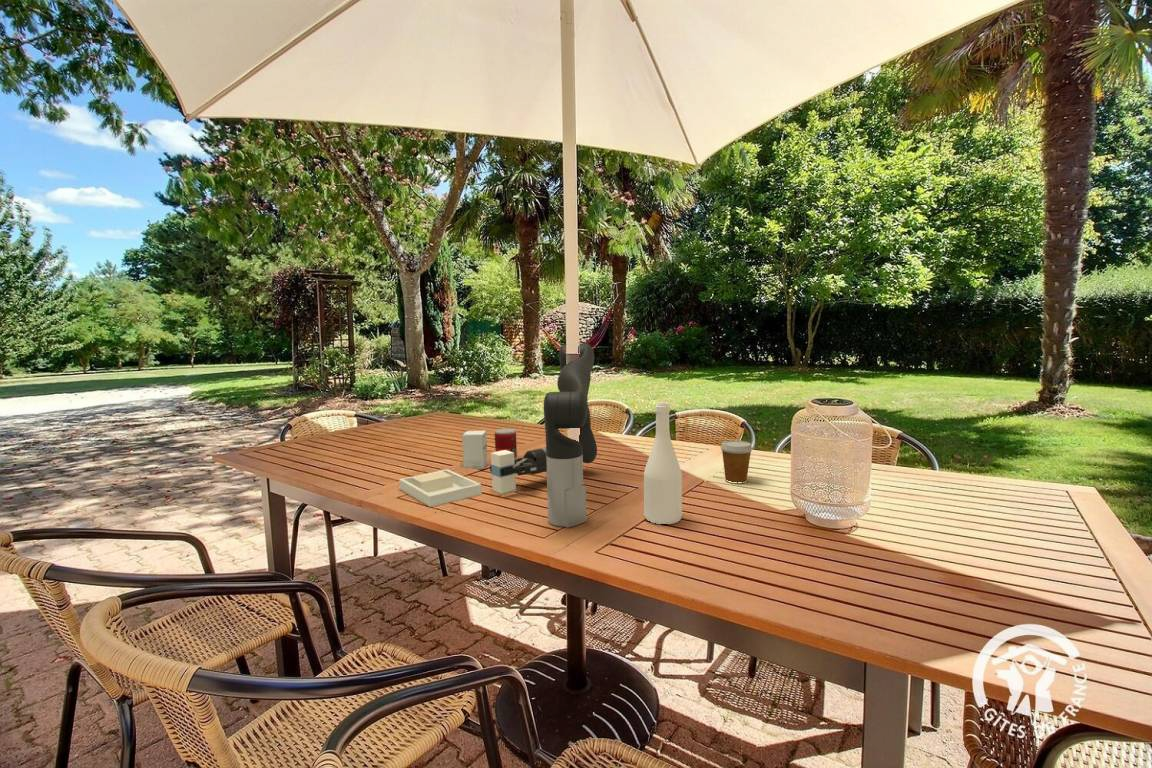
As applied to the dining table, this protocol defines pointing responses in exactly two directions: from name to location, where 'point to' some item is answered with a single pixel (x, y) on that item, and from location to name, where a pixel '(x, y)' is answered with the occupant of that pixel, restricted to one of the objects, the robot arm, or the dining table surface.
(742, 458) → the brown clear cup
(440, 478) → the cream rectangular block
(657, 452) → the wine bottle
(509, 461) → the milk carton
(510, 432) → the canned food
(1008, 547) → the dining table surface
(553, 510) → the robot arm
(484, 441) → the supplement box
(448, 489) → the tray
